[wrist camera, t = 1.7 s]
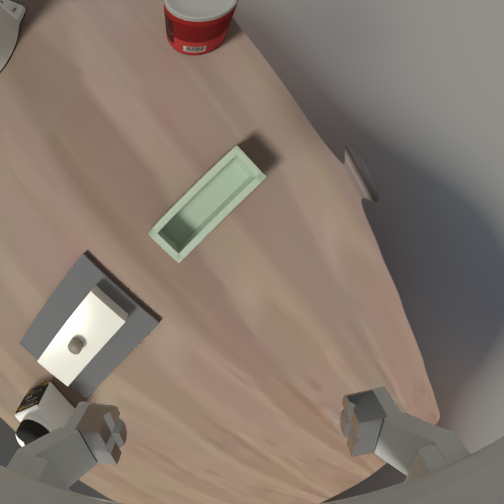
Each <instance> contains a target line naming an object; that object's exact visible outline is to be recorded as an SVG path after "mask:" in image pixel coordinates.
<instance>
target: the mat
mask: <svg viewBox="0 0 504 504" xmlns="http://www.w3.org/2000/svg"><path fill="white" fill-rule="evenodd" d="M95 285H96V286H98V287H99V288H100V289H101V290H102V291H103V292H104V293H105V294H106V295H107V296H108V297H110V298H111V299H112V300H113V301H114V302H115V303H116V304H117V305H119V306H120V307H121V308H122V309H123V310H124V311H125V312H127V313H128V317H127V319H126V322H125V323H124V324H123V325H122V326H121V327H120V329H119V330H118V331H117V332H116V333H115V334H114V335H113V336H112V337H111V338H110V339H109V341H108V342H107V343H106V344H105V345H104V346H103V347H102V348H101V349H100V351H99V352H98V353H97V354H96V355H95V356H94V357H93V358H92V359H91V361H90V362H89V363H88V364H87V365H86V366H85V367H84V369H83V370H82V371H81V372H80V373H79V374H78V375H77V377H76V378H75V379H74V380H73V381H72V382H71V383H70V385H69V386H70V387H71V388H73V389H74V390H75V391H77V392H78V393H79V394H81V395H82V396H83V397H85V398H87V397H88V396H89V395H90V394H91V393H92V392H93V391H94V390H95V388H96V387H97V386H98V385H99V384H100V383H101V382H102V381H103V380H104V379H105V378H106V377H107V376H108V375H109V374H110V373H111V372H112V371H113V370H114V369H115V368H116V367H117V366H118V365H119V364H120V363H121V362H122V361H123V360H124V359H125V358H126V357H127V356H128V355H129V354H130V352H131V351H132V350H133V349H134V348H135V347H136V346H137V345H138V344H139V343H140V342H141V341H142V340H143V339H144V338H145V337H146V336H147V335H148V334H149V333H150V332H151V331H152V330H153V329H154V328H155V327H156V326H157V325H158V324H159V322H160V320H158V319H157V318H156V317H155V316H154V315H152V314H151V313H150V312H149V311H148V310H147V309H145V308H144V307H143V306H142V305H141V304H140V303H138V302H137V301H136V300H135V299H134V298H133V297H132V296H131V295H129V294H128V293H127V292H126V291H125V290H124V289H123V288H122V287H121V286H119V285H118V284H117V283H116V282H115V281H114V280H113V279H112V278H111V277H110V276H109V275H108V274H106V273H105V272H104V271H103V270H102V269H101V268H100V267H99V266H98V265H97V264H96V263H95V262H94V261H93V260H92V259H91V258H90V257H89V256H88V255H87V254H86V253H83V254H82V256H81V257H80V258H79V259H78V261H77V262H76V263H75V264H74V266H73V267H72V268H71V270H70V271H69V272H68V274H67V275H66V276H65V278H64V279H63V280H62V282H61V283H60V284H59V286H58V287H57V288H56V290H55V291H54V293H53V294H52V295H51V297H50V298H49V300H48V301H47V302H46V304H45V305H44V307H43V308H42V310H41V311H40V313H39V314H38V316H37V317H36V319H35V320H34V322H33V323H32V325H31V326H30V328H29V329H28V331H27V332H26V334H25V335H24V337H23V339H22V340H21V342H20V344H21V345H22V346H23V347H24V348H25V349H26V350H27V351H28V352H29V353H31V354H32V355H33V356H34V357H35V358H36V359H37V360H39V358H40V357H41V355H42V354H43V352H44V351H45V349H46V348H47V347H48V345H49V344H50V342H51V341H52V340H53V338H54V337H55V336H56V334H57V333H58V332H59V330H60V329H61V328H62V326H63V325H64V324H65V322H66V321H67V320H68V319H69V317H70V316H71V315H72V313H73V312H74V311H75V310H76V308H77V307H78V306H79V305H80V303H81V302H82V301H83V300H84V298H85V297H86V296H87V295H88V293H89V292H90V291H91V290H92V289H93V287H94V286H95Z"/></svg>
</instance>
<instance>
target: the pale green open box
mask: <svg viewBox="0 0 504 504" xmlns="http://www.w3.org/2000/svg"><path fill="white" fill-rule="evenodd" d="M265 178H266V176H265V175H264V174H263V173H262V172H261V171H260V170H259V169H258V167H257V166H256V165H255V164H254V163H253V162H252V161H251V160H250V159H249V158H248V157H247V156H246V155H245V153H244V152H243V151H242V150H241V149H240V148H239V147H238V146H237V145H236V146H235V147H233V148H232V149H230V150H229V151H228V152H227V153H226V154H225V155H224V156H223V157H221V158H220V159H219V160H218V161H217V162H216V163H215V164H214V165H213V166H212V167H211V168H210V169H209V170H208V171H207V172H206V173H205V174H204V175H202V176H201V177H200V178H199V179H198V180H197V181H196V182H195V183H194V184H193V185H192V186H191V187H190V188H189V189H188V190H187V191H186V192H185V193H184V194H183V195H182V196H181V197H180V198H179V199H178V200H177V201H176V202H175V203H174V204H173V205H172V206H171V207H170V208H169V209H168V210H167V211H166V212H165V213H164V215H163V216H162V217H161V218H160V219H159V220H158V221H157V222H156V223H155V224H154V225H153V226H152V227H151V229H150V230H149V232H148V233H147V234H148V235H149V236H150V237H151V238H153V239H154V240H155V241H156V242H157V243H158V244H159V245H160V246H161V247H162V248H163V249H164V250H165V251H166V252H167V253H168V254H169V255H170V256H171V257H172V258H174V259H175V260H176V261H177V262H178V263H180V262H181V261H182V260H183V259H184V258H185V257H186V256H187V255H188V254H189V253H190V252H191V251H192V250H193V249H194V248H195V247H196V246H197V245H198V244H199V243H200V242H201V240H202V239H203V238H204V237H205V236H206V235H207V234H208V233H209V232H210V231H212V230H213V229H214V228H215V227H216V226H217V225H218V224H219V223H220V222H221V221H222V220H223V219H224V218H225V217H226V216H227V215H228V214H229V213H230V212H231V211H232V210H233V209H234V208H235V207H236V206H237V205H238V204H239V203H240V202H241V201H242V200H243V199H244V198H245V197H246V196H247V195H248V194H249V193H250V192H251V191H253V190H254V189H255V188H256V187H257V186H258V185H259V184H260V183H261V182H262V181H263V180H264V179H265Z"/></svg>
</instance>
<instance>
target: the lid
mask: <svg viewBox="0 0 504 504" xmlns="http://www.w3.org/2000/svg"><path fill="white" fill-rule="evenodd" d="M127 317H128V313H127V312H125V311H124V310H123V309H122V308H121V307H120V306H119V305H117V304H116V303H115V302H114V301H113V300H112V299H111V298H110V297H108V296H107V295H106V294H105V293H104V292H103V291H102V290H101V289H100V288H99V287H98V286H96V285H95V286H94V287H93V289H92V290H91V291H90V292H89V293H88V295H87V296H86V297H85V298H84V300H83V301H82V302H81V303H80V305H79V306H78V307H77V308H76V310H75V311H74V312H73V313H72V315H71V316H70V317H69V319H68V320H67V321H66V322H65V324H64V325H63V326H62V328H61V329H60V330H59V332H58V333H57V334H56V336H55V337H54V338H53V340H52V341H51V342H50V344H49V345H48V347H47V348H46V349H45V351H44V352H43V354H42V355H41V357H40V358H39V360H38V361H37V362H38V363H40V364H41V365H42V366H43V367H44V368H45V369H47V370H48V371H49V372H50V373H51V374H53V375H54V376H55V377H56V378H58V379H59V380H60V381H61V382H63V383H64V384H65V385H66V386H69V385H70V383H71V382H72V381H73V380H74V379H75V378H76V377H77V375H78V374H79V373H80V372H81V371H82V370H83V369H84V367H85V366H86V365H87V364H88V363H89V362H90V361H91V359H92V358H93V357H94V356H95V355H96V354H97V353H98V352H99V351H100V349H101V348H102V347H103V346H104V345H105V344H106V343H107V342H108V341H109V339H110V338H111V337H112V336H113V335H114V334H115V333H116V332H117V331H118V330H119V329H120V327H121V326H122V325H123V324H124V323H125V322H126V319H127Z"/></svg>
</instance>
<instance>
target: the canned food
mask: <svg viewBox="0 0 504 504" xmlns="http://www.w3.org/2000/svg"><path fill="white" fill-rule="evenodd" d="M237 2H238V0H164V12H165V23H166V32H167V39H168V42H169V43H170V45H171V46H172V47H173V48H174V49H176V50H177V51H179V52H180V53H183V54H187V55H202V54H205V53H208V52H210V51H212V50H214V49H215V48H217V47H218V46H219V45H220V44H221V43H222V42H223V40H224V38H225V36H226V33H227V30H228V28H229V25H230V22H231V19H232V16H233V13H234V11H235V8H236V6H237Z"/></svg>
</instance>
